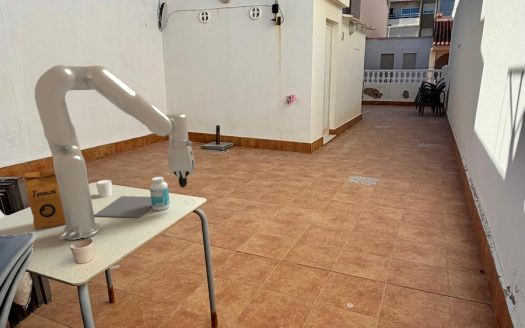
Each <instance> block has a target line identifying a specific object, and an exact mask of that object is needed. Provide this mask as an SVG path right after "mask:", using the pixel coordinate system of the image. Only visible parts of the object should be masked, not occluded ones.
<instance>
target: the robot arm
mask: <svg viewBox="0 0 525 328" xmlns="http://www.w3.org/2000/svg"><path fill="white" fill-rule="evenodd" d="M34 87H35V88H34V100H35V101H34V102H35V105H36V108H37V111H38V115H39V119H40V121H41V125H42V128H43V135H44V137H45V140H46V141H47V144H48V146H49V149H50V153H51V156H52V159H53V170H55V175H56V179H57V184H58V188H59V194H60V198H61V203H62V208H63V213H64V218H65V223H66V224H65V226H64V230H63V232H61V233H60V234H58V239H59V240H64V239H65V240H68V241H77V240H76V239H80V238H85V239H88V238H90V237H93V236H95V235H97V234H98V233H99V232H100V231H101V230H102V229H101V228H102V227H101V225H100V223H97V222H96V219H95V218H96V217H94V215H95V213H94V208H93V202H92V195H91V190H90V183H89V179H88V172H87V164H86V160H85V157H84V155H83V153H82V150H81V147H80V143H79V140H78V136H77V134H76V128H75V127H74V124H73V123H72V119H71V117H70V114H69V113H70V112H69V109H68V106H67V102H66V95H67V93H68V92H69V91H90V90H91V91H92V90H93V91H96V92H97V93H98V94H100V95H101V96H102V97H103V98H104V99H106V100H108V101H109V102H110V103H112V104H113V105H114V106H115V107H116V108H118V109H119V110H121V111H122V112H123V113H125V114H127V115H129V116H131V117H132V118H134V119H136V120H137V121H138V122H140V123H141V124H142V125H144V126H145V127H146V128H147V130H148V131H150V132H151V133H153V134H154V135H156V136H159V137H166V136H168V139H169V141H168V142H169V147H168V150H167V151H168V152H167V167H168V169H169V172H168V173H169V174H173V175H175V177H176V178H177V179H178V185H179V187H180V188H185V187H186V186H187V184H188V178H187V177H188V176H189V175H191V174H194V173H195V171H196V170H195V167H196V163H195V158H194V157H195V156H194V151H193V148H192V146H191V145H193V141H191V140H190V139H189V131H188V123H187V122H188V120H187V115H186V114H185V113H183V112H175V113H169V114H164V113H163V112H161V110H159V109H158V108H157V107H156V106H154V105H152V103H150V102H148V100H146V99H145V98H144V97H143V96H141V95H140V94H139V93H138V92H136V91H135V90H134V89H133V88H131V87H130V86H129V85H128V84H127V83H125V82H124V81H123V80H121V79H120V77H118V76H117V75H116V74H114V73H113V72H112V71H110V70H109V69H108V68H106V67H105V66H102V65H93V66H92V65H91V66H89V65H88V66H85V65H84V66H81V65H80V66H78V65H77V66H75V65H74V66H73V65H69V66H68V65H62V64H58V65H54V66H51V67H50V68H49V69H47V70H46V71H45V72H43V74H42V75H41V76H40V77H39V78H38V79H37V81H36V84H35V86H34ZM87 237H88V238H87ZM80 240H81V239H80Z"/></svg>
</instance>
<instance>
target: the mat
mask: <svg viewBox="0 0 525 328" xmlns="http://www.w3.org/2000/svg"><path fill="white" fill-rule="evenodd" d="M150 209H152V201H151V196H137V195H134V196H132V195H129V196H127V195H121V196H120V197H118V198H116V199H115V200H113V202H111V203H109V204H108V205H107V206H105V207H104V208H102V209H101V210H99V211H98V212H96V213H94V218H96V217H97V218H98V217H99V218H100V217H101V218H126V219H127V218H128V219H129V218H130V219H140V218H142V217H143V215H145V214H146V213H147V212H148V211H149V210H150Z"/></svg>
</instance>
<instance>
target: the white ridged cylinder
mask: <svg viewBox="0 0 525 328" xmlns="http://www.w3.org/2000/svg"><path fill="white" fill-rule="evenodd" d="M112 184H113V183H112V180H111V179H102V180H98V181H96V182H95V185H96V189H97V192H98V197H99V198H109V197H111V196H113V188H112V187H113V185H112Z"/></svg>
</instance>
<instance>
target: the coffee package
mask: <svg viewBox="0 0 525 328" xmlns="http://www.w3.org/2000/svg"><path fill="white" fill-rule="evenodd" d="M23 178H24V183H25V188H26V192H27V193H26V194H27V195H26V196H27V199H28V203H29V207H30V211H31V215H32V216H33V222H32V223H33V227H34V229H36V230H37V229H42V228H43V229H44V228H49V227H57V226H62V225H66V223H65V218H64V213H63V208H62V203H61V198H60V194H59V188H58V184H57V179H56V175H55V170H54V169H52V170H51V169H48V170H41V171H40V170H39V171H35V172H27V173H26V172H25V173H23Z"/></svg>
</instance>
